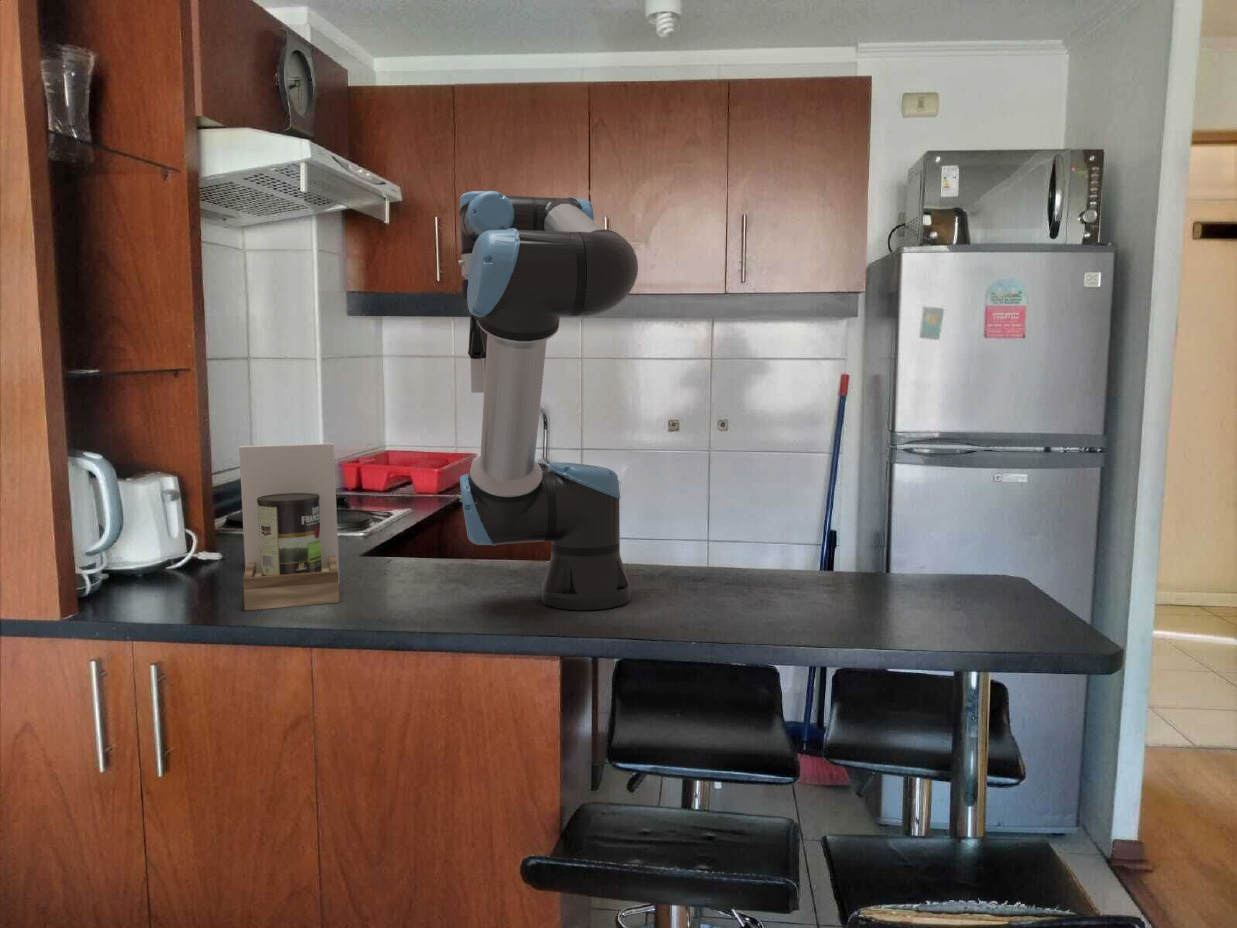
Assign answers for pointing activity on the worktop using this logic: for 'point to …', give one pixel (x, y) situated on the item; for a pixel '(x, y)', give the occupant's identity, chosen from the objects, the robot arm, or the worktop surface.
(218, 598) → the worktop surface
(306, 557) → the coffee can
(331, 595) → the shelf
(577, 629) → the worktop surface
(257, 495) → the beige flat upright panel
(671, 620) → the worktop surface
